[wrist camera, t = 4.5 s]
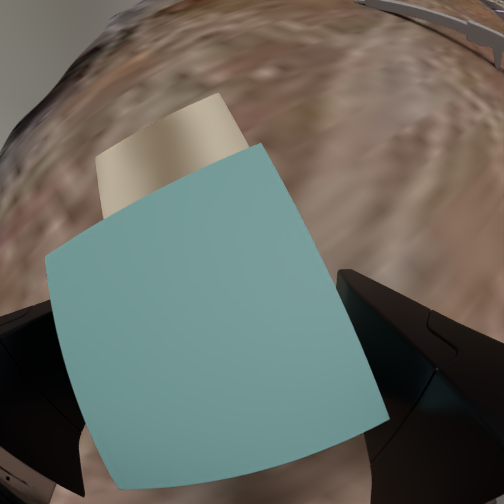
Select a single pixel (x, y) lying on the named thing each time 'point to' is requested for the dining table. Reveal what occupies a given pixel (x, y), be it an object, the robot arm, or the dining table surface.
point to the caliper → (446, 24)
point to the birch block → (166, 152)
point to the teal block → (208, 332)
